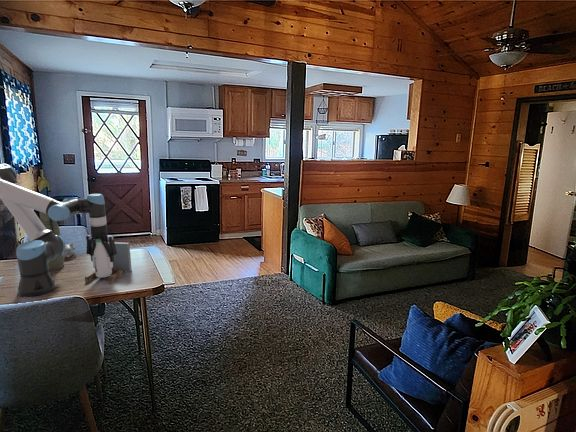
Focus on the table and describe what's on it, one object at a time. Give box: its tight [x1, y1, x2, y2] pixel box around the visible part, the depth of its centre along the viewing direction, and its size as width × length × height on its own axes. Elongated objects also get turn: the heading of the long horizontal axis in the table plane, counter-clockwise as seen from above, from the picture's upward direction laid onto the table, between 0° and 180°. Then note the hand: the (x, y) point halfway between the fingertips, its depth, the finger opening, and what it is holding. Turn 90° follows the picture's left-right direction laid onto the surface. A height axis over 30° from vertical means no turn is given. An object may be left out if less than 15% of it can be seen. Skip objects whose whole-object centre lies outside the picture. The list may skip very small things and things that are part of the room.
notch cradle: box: [84, 269, 125, 285], centre depth 198 cm, size 12×14×3 cm
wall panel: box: [108, 241, 133, 273], centre depth 206 cm, size 4×16×16 cm, turn 84°
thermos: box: [39, 211, 65, 271], centre depth 210 cm, size 9×12×35 cm
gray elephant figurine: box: [63, 242, 77, 260], centre depth 232 cm, size 9×12×8 cm
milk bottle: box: [94, 239, 112, 278], centre depth 195 cm, size 8×8×20 cm
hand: (103, 267), depth 196 cm, fingers closed on milk bottle, 8 cm apart
